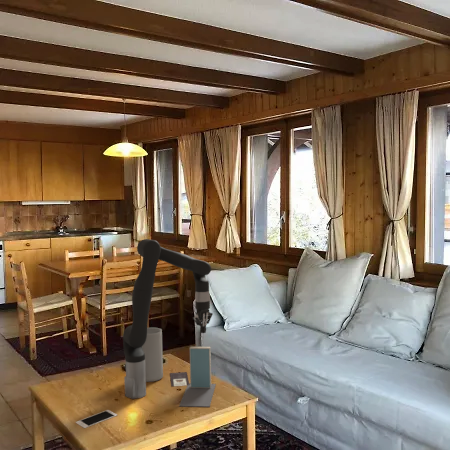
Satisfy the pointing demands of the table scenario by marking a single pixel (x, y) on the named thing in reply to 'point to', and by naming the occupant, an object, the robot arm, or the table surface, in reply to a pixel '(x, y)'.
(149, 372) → the cylinder vase
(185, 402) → the felt mat
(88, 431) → the table surface
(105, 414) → the cell phone
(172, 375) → the chocolate bar
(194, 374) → the tile
